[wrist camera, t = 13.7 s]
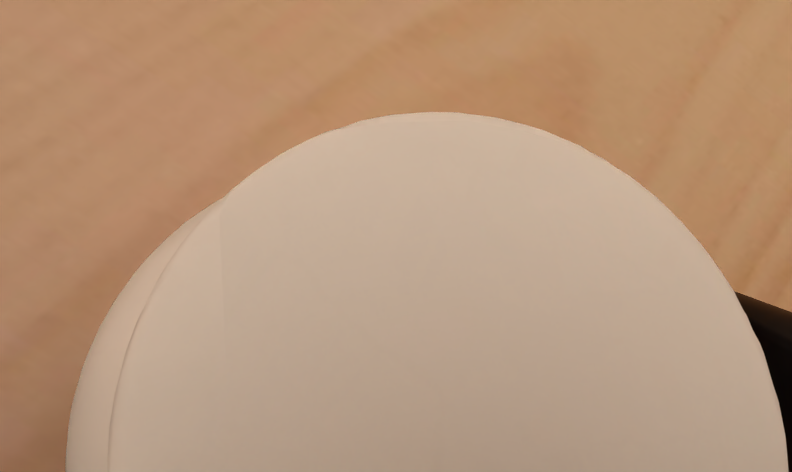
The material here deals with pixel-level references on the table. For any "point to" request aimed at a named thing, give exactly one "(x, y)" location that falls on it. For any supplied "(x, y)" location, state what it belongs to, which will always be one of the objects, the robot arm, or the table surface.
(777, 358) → the robot arm
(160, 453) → the pill bottle
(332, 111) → the table surface
